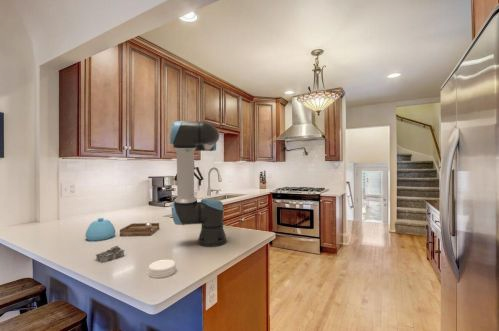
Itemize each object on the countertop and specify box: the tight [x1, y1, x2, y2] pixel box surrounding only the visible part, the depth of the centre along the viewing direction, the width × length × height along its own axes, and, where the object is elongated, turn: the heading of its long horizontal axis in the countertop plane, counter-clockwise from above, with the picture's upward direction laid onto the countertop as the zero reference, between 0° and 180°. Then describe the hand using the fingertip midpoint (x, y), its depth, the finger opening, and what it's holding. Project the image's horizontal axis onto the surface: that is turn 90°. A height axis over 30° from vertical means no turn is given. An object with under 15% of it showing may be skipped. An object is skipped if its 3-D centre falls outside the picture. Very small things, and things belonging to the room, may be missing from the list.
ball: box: [145, 222, 152, 229], centre depth 155 cm, size 4×4×4 cm
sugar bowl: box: [84, 217, 116, 242], centre depth 144 cm, size 15×15×12 cm
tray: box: [119, 222, 160, 237], centre depth 155 cm, size 16×18×4 cm
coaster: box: [148, 259, 177, 279], centre depth 96 cm, size 10×10×4 cm
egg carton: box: [94, 245, 126, 263], centre depth 112 cm, size 11×8×4 cm
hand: (188, 190), depth 172 cm, fingers open, 13 cm apart
